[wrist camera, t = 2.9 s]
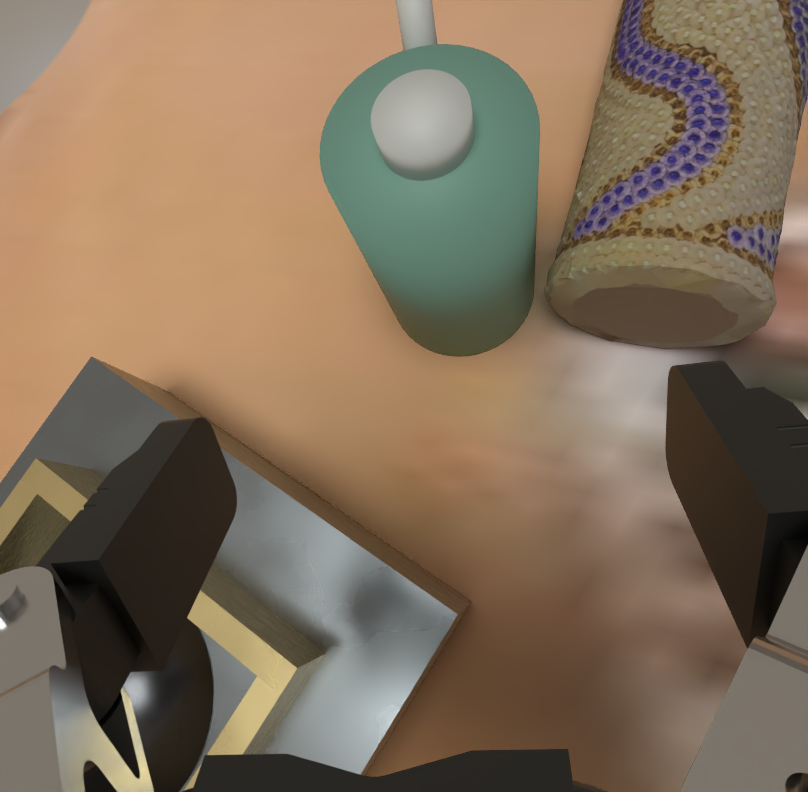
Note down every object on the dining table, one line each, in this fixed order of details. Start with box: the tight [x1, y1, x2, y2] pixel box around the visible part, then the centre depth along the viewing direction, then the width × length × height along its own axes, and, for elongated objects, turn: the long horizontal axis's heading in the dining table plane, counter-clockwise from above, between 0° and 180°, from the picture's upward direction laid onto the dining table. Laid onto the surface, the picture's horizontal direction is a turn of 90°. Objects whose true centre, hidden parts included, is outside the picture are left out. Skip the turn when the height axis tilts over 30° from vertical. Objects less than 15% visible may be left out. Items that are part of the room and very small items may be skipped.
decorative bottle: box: [544, 0, 808, 348], centre depth 24 cm, size 26×8×7 cm, turn 163°
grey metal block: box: [0, 357, 471, 792], centre depth 21 cm, size 21×16×8 cm
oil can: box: [320, 0, 540, 356], centre depth 21 cm, size 9×6×12 cm
